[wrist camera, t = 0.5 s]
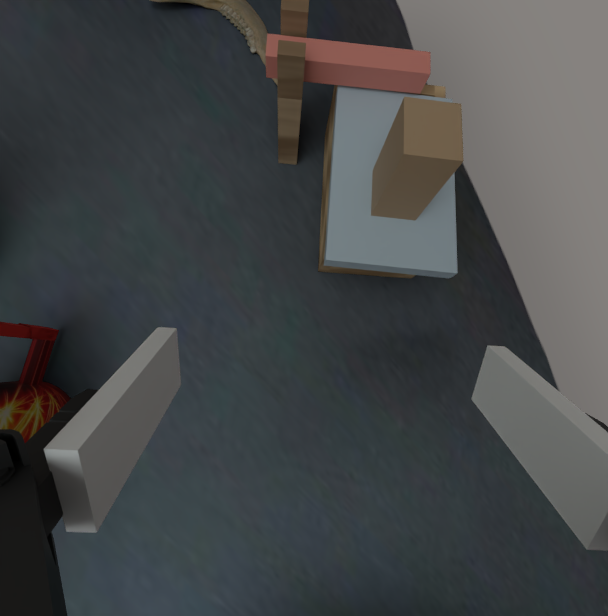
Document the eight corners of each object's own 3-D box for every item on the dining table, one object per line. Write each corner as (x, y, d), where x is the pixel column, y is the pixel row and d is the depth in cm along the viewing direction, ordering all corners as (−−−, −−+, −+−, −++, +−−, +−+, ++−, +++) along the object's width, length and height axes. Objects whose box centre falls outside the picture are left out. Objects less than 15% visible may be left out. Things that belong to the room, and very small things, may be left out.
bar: (420, 93, 29) (430, 73, 27) (266, 77, 28) (265, 55, 26) (420, 73, 29) (430, 52, 27) (268, 56, 28) (267, 33, 26)
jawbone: (196, -32, 42) (193, -53, 40) (334, 58, 41) (337, 41, 39) (148, 11, 39) (142, -9, 37) (293, 106, 39) (295, 91, 37)
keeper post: (296, 164, 37) (305, 57, 24) (278, 162, 37) (277, 54, 24) (299, 124, 38) (308, -2, 25) (281, 122, 38) (281, -5, 25)
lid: (443, 282, 27) (522, 230, 18) (321, 270, 27) (343, 210, 18) (440, 118, 31) (504, 11, 22) (333, 105, 31) (356, -11, 22)
